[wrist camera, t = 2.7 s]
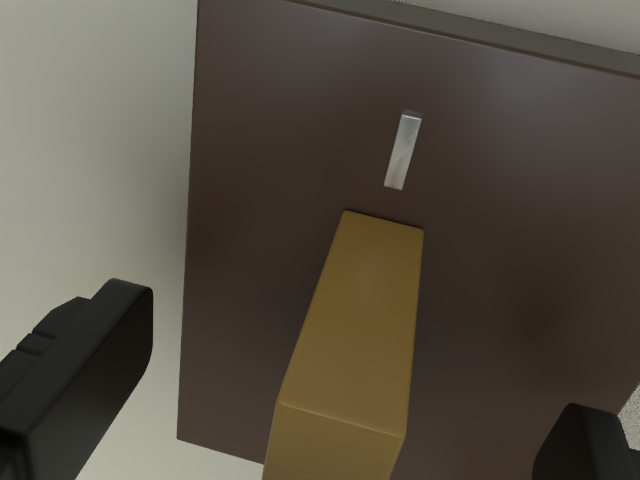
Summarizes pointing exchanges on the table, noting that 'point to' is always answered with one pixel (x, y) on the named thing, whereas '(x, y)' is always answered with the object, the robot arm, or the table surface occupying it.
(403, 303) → the thumbturn
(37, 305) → the table surface
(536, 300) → the lock plate
